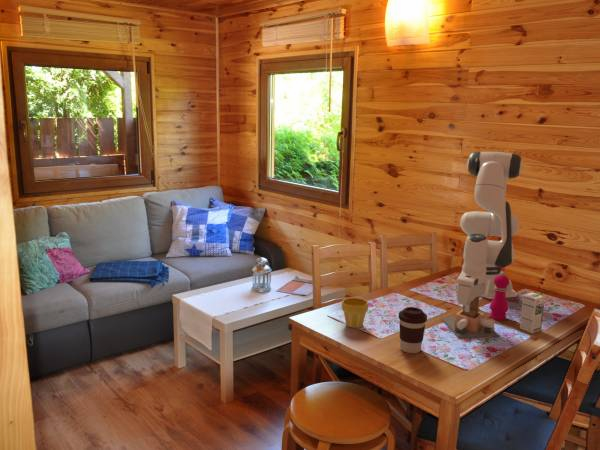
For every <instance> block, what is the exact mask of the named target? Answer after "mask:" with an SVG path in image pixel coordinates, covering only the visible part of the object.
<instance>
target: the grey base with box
mask: <svg viewBox="0 0 600 450" xmlns="http://www.w3.org/2000/svg"><path fill="white" fill-rule="evenodd" d="M462 313H463V308H462V309H461V310H459V311H458V312H456V313H455V315H454V316H446V317H445V316H444V317H440V320H441V321H442V322H443V323H444V325H445V326H446V325H447V326H448V327H447V326H446V327H447V328H448V329H449V330H450V331H451V332H452V334H453V335H455V336H456V338H457V339H481V338H484V339H485V338H499V337H500V334H499V333H498V332H496V331H495V321H494V320H491V319H488V318H485V315H486V314H485V313H484V312H480V311H478V316H477V317H476V318H471V317H468V316H464V315H462Z"/></svg>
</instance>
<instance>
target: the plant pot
mask: <svg viewBox="0 0 600 450" xmlns="http://www.w3.org/2000/svg"><path fill="white" fill-rule="evenodd" d="M341 310H342V311H343V315H344V320H345V321H344V322H345V325H346V326H347V327H348V328H352V329H358V328H362V327H363V325H364V321H365V317H366V314H367V312H368V311H369V302H368V300H367V299H365V298H362V297H345V298H344V299H343V300H342V301H341Z"/></svg>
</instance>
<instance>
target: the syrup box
mask: <svg viewBox="0 0 600 450" xmlns="http://www.w3.org/2000/svg"><path fill="white" fill-rule="evenodd" d="M545 298H546V297H545V296H544V295H542V294H539V293H536V292H530V293H526V294H523V295H522V302H521V303H522V304H521V311H520V313H521V314H520V323H519V329H520V330H522V331H525V332H527V333H529V334H535V333H538V332H541V331H542V327H543V326H542V323H543V315H544V306H545Z"/></svg>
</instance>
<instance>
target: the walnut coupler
mask: <svg viewBox="0 0 600 450" xmlns="http://www.w3.org/2000/svg"><path fill="white" fill-rule="evenodd" d="M480 298H481V297H480V296H478V297H476V298H475V299H474V300H473V301H472V302H471V304H470V307H471V311H470V312H465V306H464V305H462V309H463V313H462V315H464V316H468V317H471V318H476V317H477V316H478V312H479V305H480Z"/></svg>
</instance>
